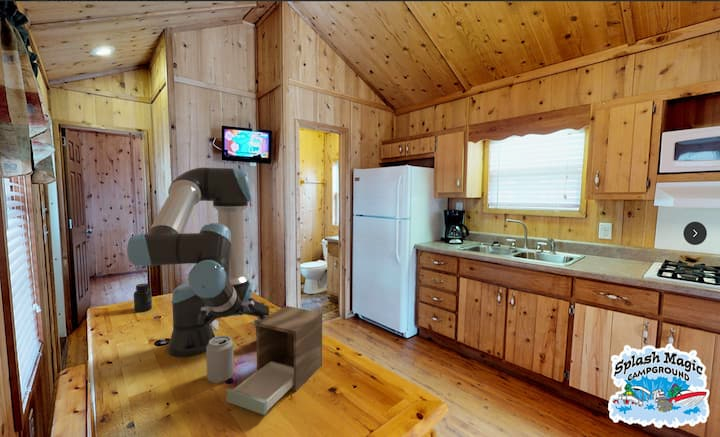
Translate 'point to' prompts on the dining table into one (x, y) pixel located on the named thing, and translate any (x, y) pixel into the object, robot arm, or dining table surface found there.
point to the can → (220, 359)
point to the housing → (291, 341)
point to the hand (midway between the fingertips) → (239, 323)
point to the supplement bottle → (142, 298)
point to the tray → (263, 387)
